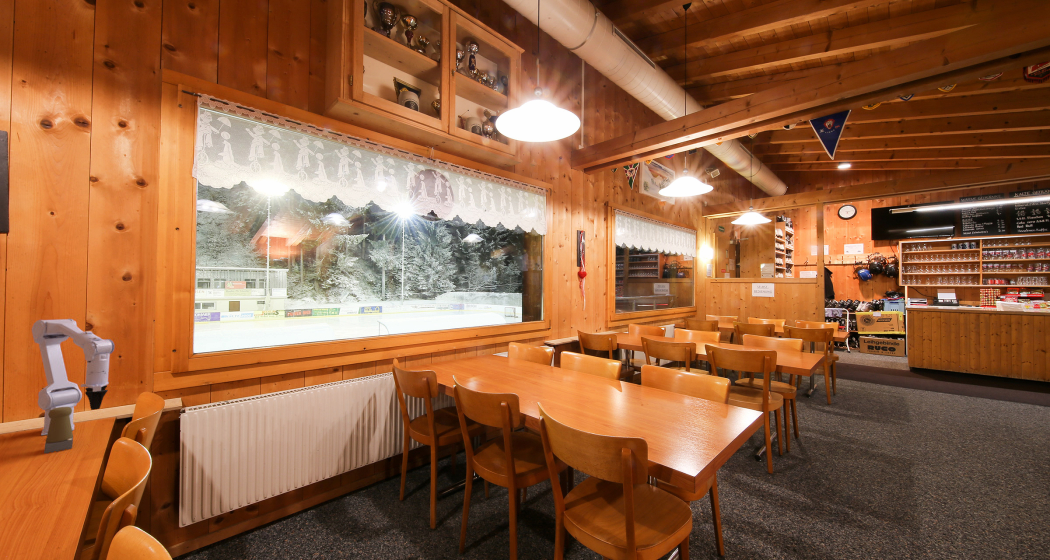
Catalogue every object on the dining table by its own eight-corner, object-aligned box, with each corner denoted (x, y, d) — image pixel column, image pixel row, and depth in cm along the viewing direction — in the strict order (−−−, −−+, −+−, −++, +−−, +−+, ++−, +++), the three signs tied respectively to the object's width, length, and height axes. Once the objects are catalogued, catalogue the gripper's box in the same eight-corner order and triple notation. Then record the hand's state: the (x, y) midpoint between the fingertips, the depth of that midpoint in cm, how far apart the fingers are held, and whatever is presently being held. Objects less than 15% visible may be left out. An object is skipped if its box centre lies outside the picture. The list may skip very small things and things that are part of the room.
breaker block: (45, 448, 131) (46, 439, 131) (72, 444, 135) (73, 434, 135) (44, 453, 127) (44, 443, 127) (72, 448, 131) (72, 439, 131)
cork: (78, 436, 134) (79, 405, 134) (55, 443, 128) (56, 410, 128) (63, 436, 135) (64, 405, 135) (40, 442, 129) (41, 410, 129)
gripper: (81, 370, 147) (79, 405, 146) (81, 375, 138) (78, 413, 137) (108, 368, 152) (106, 402, 152) (110, 373, 143) (107, 409, 142)
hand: (95, 407), depth 145 cm, fingers open, 7 cm apart
